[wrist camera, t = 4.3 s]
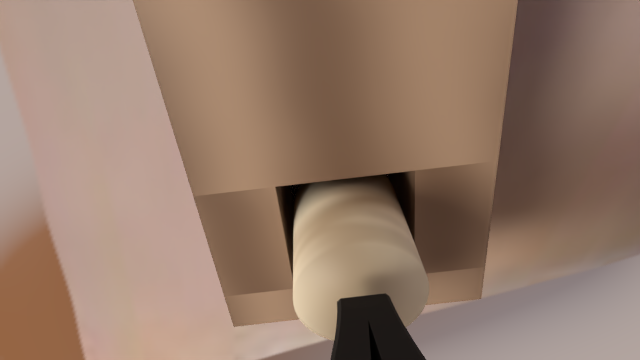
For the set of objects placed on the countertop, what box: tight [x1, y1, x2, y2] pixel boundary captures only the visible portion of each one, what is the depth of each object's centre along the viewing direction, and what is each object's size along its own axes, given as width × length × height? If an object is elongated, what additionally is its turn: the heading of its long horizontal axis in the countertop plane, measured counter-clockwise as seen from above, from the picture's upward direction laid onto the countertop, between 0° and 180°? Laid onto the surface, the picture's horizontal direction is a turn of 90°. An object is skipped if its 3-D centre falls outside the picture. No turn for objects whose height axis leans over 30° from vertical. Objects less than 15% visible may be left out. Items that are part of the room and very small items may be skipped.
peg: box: [293, 174, 429, 341], centre depth 14 cm, size 4×4×5 cm
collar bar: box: [133, 0, 518, 327], centre depth 14 cm, size 10×20×5 cm, turn 6°
